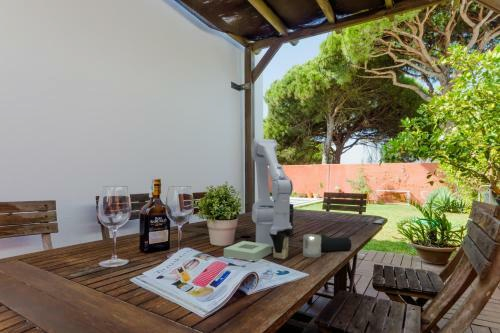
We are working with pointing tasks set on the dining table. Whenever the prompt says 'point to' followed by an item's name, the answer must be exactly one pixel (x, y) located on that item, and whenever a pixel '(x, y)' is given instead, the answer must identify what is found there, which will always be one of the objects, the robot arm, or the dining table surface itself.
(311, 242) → the round peg
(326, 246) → the pipe connector
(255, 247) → the hole plate
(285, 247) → the square peg
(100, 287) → the dining table surface
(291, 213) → the storage jar
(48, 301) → the dining table surface
